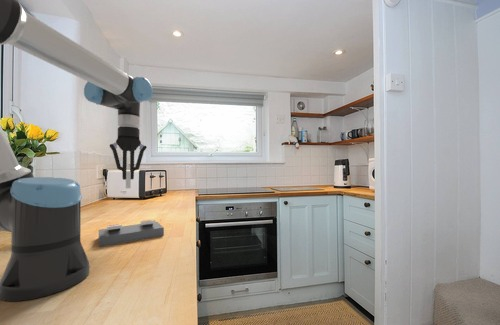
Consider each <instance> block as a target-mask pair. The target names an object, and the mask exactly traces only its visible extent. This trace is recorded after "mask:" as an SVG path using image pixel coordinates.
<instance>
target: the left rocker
mask: <svg viewBox="0 0 500 325" xmlns="http://www.w3.org/2000/svg"><path fill="white" fill-rule="evenodd" d="M118 228H122V224H121V223H120V224H119V223H118V224H117V223H116V224H110V225H107V227H106V229H108V230H111V229H118Z"/></svg>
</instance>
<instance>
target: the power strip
mask: <svg viewBox="0 0 500 325" xmlns="http://www.w3.org/2000/svg"><path fill="white" fill-rule="evenodd" d="M164 234H165V233H164V226H162V225H161V224H160V223H159V222H157V221H155V223H151V224H144V225H143V224H141V223H139V224H138V223H137V224H130V225H124V226H122V228H118V229H111V230H108V229H107V228H101V229H98V245H99V246H98V247H99V248H101V247H107V246H113V245H118V244H119V245H120V244H124V243H130V242H135V241H140V240H146V239H152V238H158V237H163V236H165V235H164Z"/></svg>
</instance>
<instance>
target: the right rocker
mask: <svg viewBox="0 0 500 325" xmlns="http://www.w3.org/2000/svg"><path fill="white" fill-rule="evenodd" d="M155 222H156V219H152V220H151V219H147V220H141V221H140V222H139V224H143V225H144V224H151V223H155Z"/></svg>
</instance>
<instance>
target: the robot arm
mask: <svg viewBox="0 0 500 325" xmlns="http://www.w3.org/2000/svg"><path fill="white" fill-rule="evenodd" d="M1 45H2V46H3V45H10V46H13V47H15V48H17V49H18V50H21V51H23V52H25V53H27V54H29V55H31V56H33V57H35V58H38V59H40V60H41V61H44V62H46V63H48V64H50V65H52V66H55V67H56V68H58V69H61V70H64V71H65V72H67V73H69V74H72V75H74V76H76V77H77V78H80V79H82V80H84V81H86V83H85V85H84V88H83V96H84V97H85V99H86V100H87V101H88V102H91V103H93V104H96V105H99V106H104V107H107V108H110V109H114V110H117V126H118V127H117V138H116V141H115V142H114V143H110V144H109V148H110V150H111V151H112V154H113V158H114V162H115V166H116V169H117V170H119V171H122V175H121V176H122V180H124V181H125V189H131V187H132V186H131V185H132V184H131V180H134V177H135V171H137V170H140V166H141V163H142V159H143V157H144V156H143V155H144V152H145V151H146V149H147V148H148V147H147V146H146V145H144V144H142V142H141V139H140V132H141V131H140V129H139V128H140V126H141V125H140V121H141V120H140V118H141V116H140V115H141V114H140V113H141V112H140V111H141V103H143V102H146V101H150V99H152V97H153V93H154V92H153V91H154V89H153V86H152V83H151V82H150V80H148V78H146V77H142V76H136V77H134V76H131V75H129V74H128V73H126V72H124V71H123V70H121V69H120V68H118V67H116V66H115V65H113V64H111V63H110V62H108V61H107V60H105V59H103V58H102V57H100V56H98V55H97V54H95V53H94V52H92V51H90V50H88V49H87V48H85V47H84V46H82V45H81V44H79V43H78V42H75V40H72V39H70V38H69V37H67V36H66V35H64V34H63V33H61V32H59V31H57V30H56V29H54V28H53V27H52V26H49V25H48V24H47V23H45V22H44V21H41V20H40V19H38V18H36V17H35V16H33V15H31V14H30V13H28V12H26V11H25V10H24V8H23V6H22V4H21V2H19V1H18V0H0V46H1ZM118 148H119V149H120V150H121V151H122V165H121V162H120V158H119V154H118V150H117V149H118ZM138 148H139V152H138V153H139V154H138V155H137V156H138V157H137V160H136V164H135V151H136V150H137V149H138ZM128 152H129V171H127V162H128V161H127V159H128V156H127V155H128ZM81 200H82V192H81V185H80V184H79V182H78V181H77V180H74V179H71V178H65V177H64V178H63V177H51V176H49V177H48V176H47V177H46V176H41V177H40V176H39V177H36V176H35V177H34V174H33V172H32V170H31V169H30V168H27V167H24V166H22V165H20V164H19V161H18V159H17V157H16V155H15V153H14V151H13V148H12V147H11V145H10V142H9V140H8V138H7V136H6V134H5V132H4V129H3V128H2V126H1V124H0V232H1V231H2V232H8V233H9V232H10V233H11V236H10V238H11V239H10V240H11V241H10V242H11V253H10V258H9V259H8V261H7V262H8V263H6V264H7V265H6V267H5V269H4V271H3V274H2V276H1V278H0V300H3V301H5V302H6V301H7V302H18V301H27V300H28V301H29V300H34V299H39V298H43V297H46V296H50V295H54V294H57V293H59V292H62V291H64V290H66V289H69V288H71V287H73V286H75V285H77V284H79V283H81V282H82V281H83V280H85V279H86V278H87V277H88V276H89V274H90V261H89V259H88V257H87V254H86V252H85V249H84V246H83V245H82V242H81V215H82V214H81V213H82V212H81V211H82V210H81V208H82V207H81V204H82V202H81Z"/></svg>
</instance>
